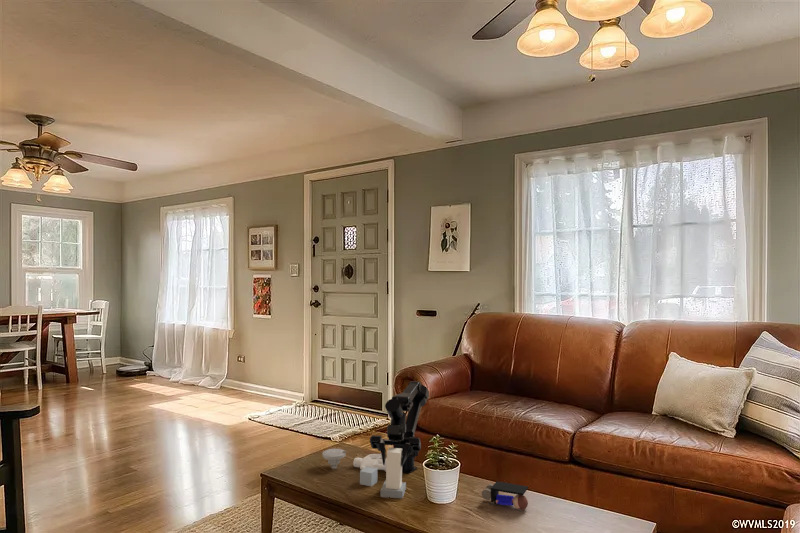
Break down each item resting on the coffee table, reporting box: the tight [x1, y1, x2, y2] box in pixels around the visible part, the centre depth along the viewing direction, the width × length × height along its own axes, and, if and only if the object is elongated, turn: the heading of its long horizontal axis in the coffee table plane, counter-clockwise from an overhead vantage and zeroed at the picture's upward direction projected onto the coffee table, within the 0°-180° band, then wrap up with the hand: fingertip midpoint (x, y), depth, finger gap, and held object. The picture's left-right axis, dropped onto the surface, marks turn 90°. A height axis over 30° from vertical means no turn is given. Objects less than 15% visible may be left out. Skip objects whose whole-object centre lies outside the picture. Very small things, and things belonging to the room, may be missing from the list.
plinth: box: [380, 480, 407, 499], centre depth 183 cm, size 8×8×3 cm
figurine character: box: [481, 480, 529, 511], centre depth 172 cm, size 7×8×15 cm
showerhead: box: [322, 448, 347, 470], centre depth 207 cm, size 9×7×10 cm
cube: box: [359, 467, 378, 487], centre depth 192 cm, size 5×5×5 cm
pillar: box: [385, 446, 403, 489], centre depth 183 cm, size 5×5×13 cm
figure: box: [352, 453, 387, 472], centre depth 205 cm, size 11×6×20 cm
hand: (392, 465), depth 181 cm, fingers open, 6 cm apart
